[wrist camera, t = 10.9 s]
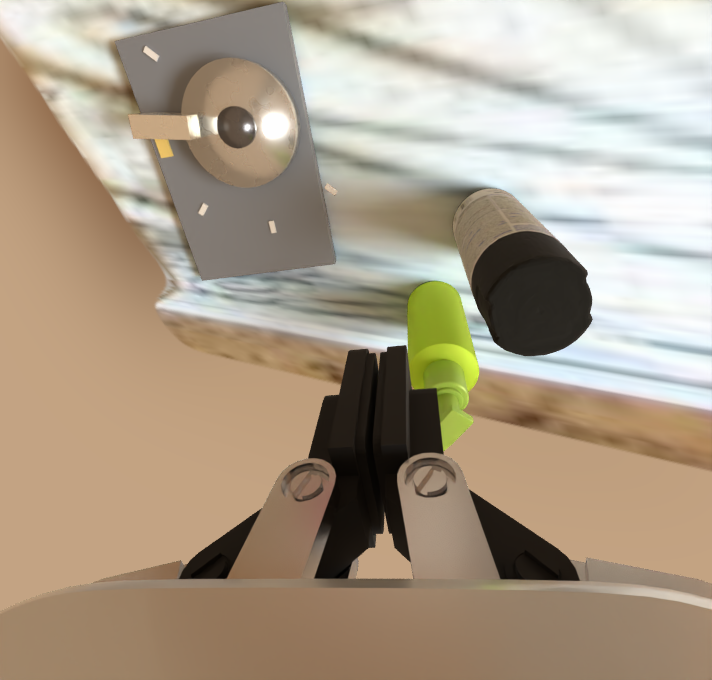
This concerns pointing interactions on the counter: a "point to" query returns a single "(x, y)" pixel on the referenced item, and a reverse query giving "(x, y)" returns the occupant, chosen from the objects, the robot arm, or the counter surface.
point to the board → (205, 192)
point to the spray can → (520, 275)
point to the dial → (232, 122)
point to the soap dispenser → (442, 354)
